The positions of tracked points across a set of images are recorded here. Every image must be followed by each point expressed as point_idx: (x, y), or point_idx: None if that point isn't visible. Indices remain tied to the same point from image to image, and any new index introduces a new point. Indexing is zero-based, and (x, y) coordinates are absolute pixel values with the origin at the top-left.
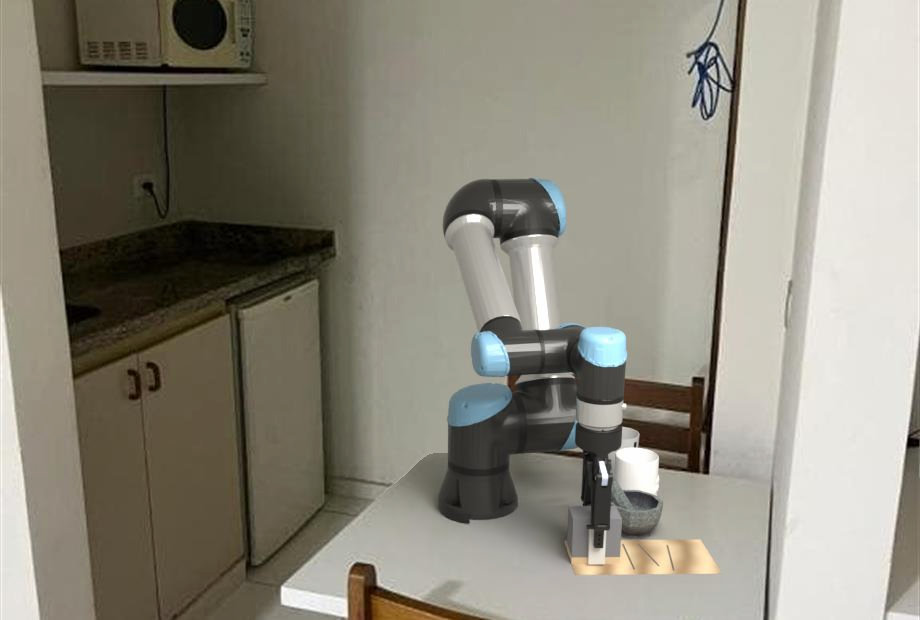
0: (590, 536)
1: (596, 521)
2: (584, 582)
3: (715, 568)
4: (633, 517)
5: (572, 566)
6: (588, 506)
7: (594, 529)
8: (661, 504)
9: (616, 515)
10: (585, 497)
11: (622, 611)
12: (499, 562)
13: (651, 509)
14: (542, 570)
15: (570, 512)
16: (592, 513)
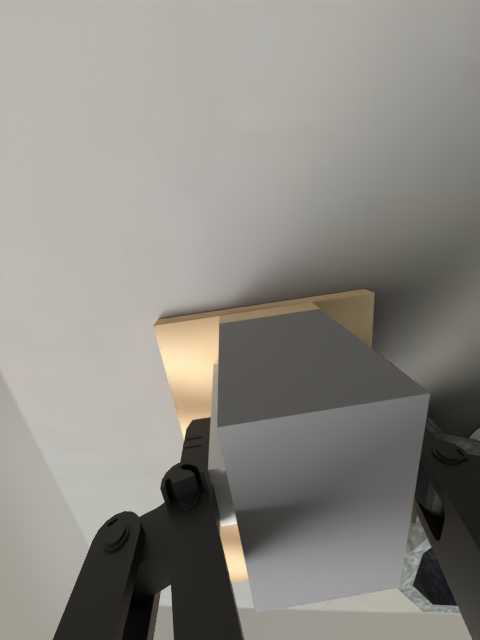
0: (210, 435)
1: (71, 609)
2: (153, 344)
3: (241, 576)
4: None
5: (205, 318)
6: (409, 493)
7: (102, 527)
8: (449, 611)
9: (292, 595)
10: (475, 542)
11: (32, 425)
12: (241, 34)
13: (418, 596)
14: (202, 220)
15: (338, 402)
16: (173, 603)
